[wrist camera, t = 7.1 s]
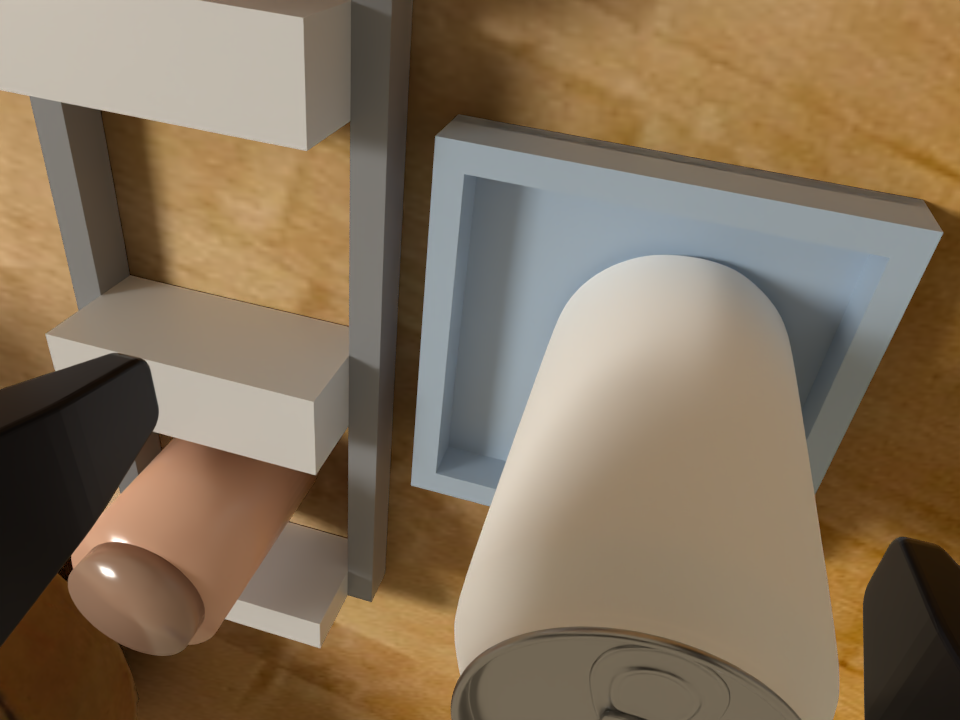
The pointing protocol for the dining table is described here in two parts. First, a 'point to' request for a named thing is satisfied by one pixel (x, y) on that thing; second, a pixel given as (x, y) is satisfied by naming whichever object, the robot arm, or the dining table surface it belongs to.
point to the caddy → (222, 321)
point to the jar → (181, 545)
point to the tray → (627, 235)
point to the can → (654, 518)
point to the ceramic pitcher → (63, 666)
